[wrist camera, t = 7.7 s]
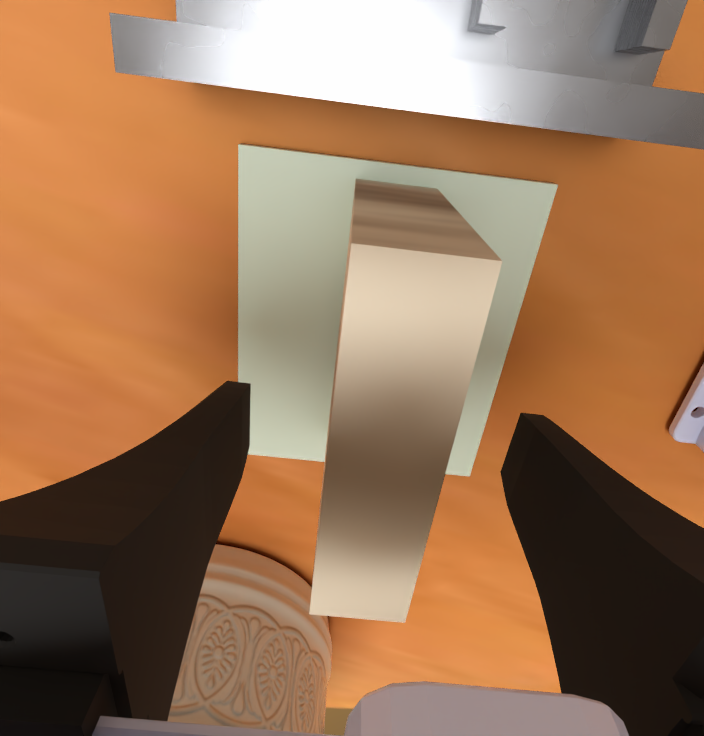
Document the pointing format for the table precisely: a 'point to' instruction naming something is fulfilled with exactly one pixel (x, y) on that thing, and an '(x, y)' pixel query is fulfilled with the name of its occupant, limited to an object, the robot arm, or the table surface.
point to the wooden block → (396, 392)
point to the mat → (326, 283)
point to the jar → (254, 649)
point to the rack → (435, 58)
